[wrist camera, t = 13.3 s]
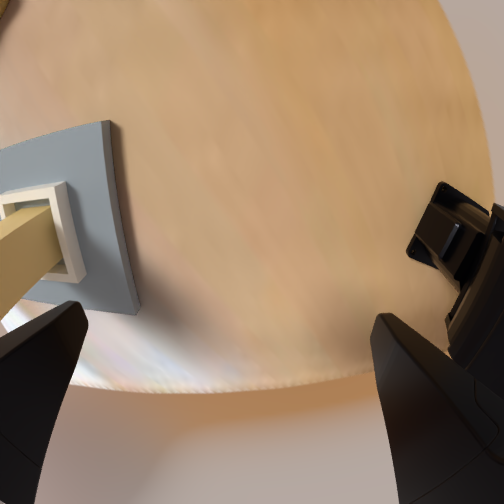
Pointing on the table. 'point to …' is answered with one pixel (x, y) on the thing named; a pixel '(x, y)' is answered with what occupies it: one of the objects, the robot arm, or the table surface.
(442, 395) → the robot arm
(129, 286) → the baseplate
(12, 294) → the pillar
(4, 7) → the pastry
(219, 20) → the table surface
